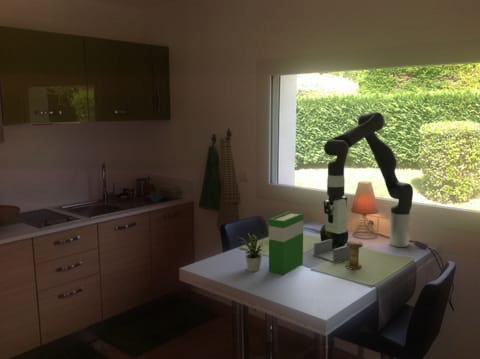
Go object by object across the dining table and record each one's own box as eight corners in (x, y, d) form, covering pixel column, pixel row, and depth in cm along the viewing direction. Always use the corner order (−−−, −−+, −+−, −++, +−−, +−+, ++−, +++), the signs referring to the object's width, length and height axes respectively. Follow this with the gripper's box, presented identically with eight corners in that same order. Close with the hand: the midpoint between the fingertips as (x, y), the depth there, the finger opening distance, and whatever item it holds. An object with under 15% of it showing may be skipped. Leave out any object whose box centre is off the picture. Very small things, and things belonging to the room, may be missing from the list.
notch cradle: (329, 250, 218) (329, 238, 217) (352, 257, 207) (352, 245, 206) (313, 255, 211) (313, 243, 210) (335, 263, 200) (335, 250, 199)
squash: (310, 233, 229) (326, 216, 220) (327, 229, 239) (343, 213, 230) (325, 255, 222) (342, 238, 213) (342, 250, 232) (359, 234, 223)
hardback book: (288, 260, 204) (289, 211, 200) (302, 263, 199) (303, 213, 195) (268, 272, 189) (269, 219, 186) (283, 275, 185) (283, 221, 181)
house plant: (231, 265, 197) (230, 231, 195) (258, 261, 203) (258, 227, 200) (243, 276, 184) (243, 239, 182) (272, 271, 190) (272, 235, 187)
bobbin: (352, 262, 200) (353, 240, 198) (364, 267, 194) (365, 243, 193) (342, 266, 196) (343, 242, 194) (355, 270, 190) (355, 246, 189)
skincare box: (346, 232, 193) (347, 199, 190) (337, 234, 189) (338, 201, 187) (332, 228, 200) (333, 196, 197) (323, 230, 196) (324, 198, 194)
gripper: (339, 181, 198) (338, 217, 201) (318, 185, 190) (318, 222, 192) (352, 183, 193) (352, 220, 195) (332, 188, 184) (331, 226, 186)
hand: (335, 221), depth 194 cm, fingers closed on skincare box, 6 cm apart
